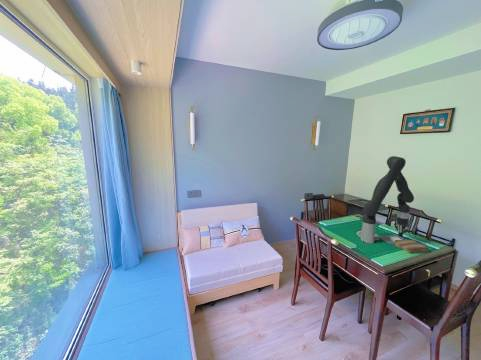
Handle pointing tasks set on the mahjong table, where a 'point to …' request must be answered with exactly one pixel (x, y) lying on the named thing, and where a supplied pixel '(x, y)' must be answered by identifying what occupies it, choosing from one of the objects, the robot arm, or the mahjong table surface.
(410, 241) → the deck
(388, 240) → the mat
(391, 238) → the card
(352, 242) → the mahjong table surface
